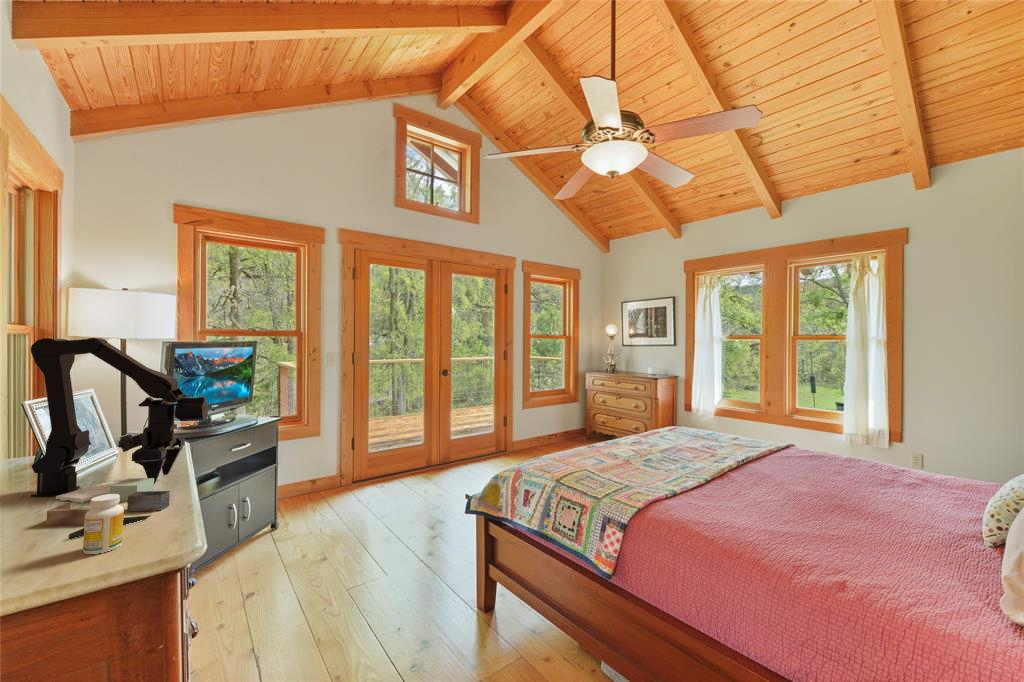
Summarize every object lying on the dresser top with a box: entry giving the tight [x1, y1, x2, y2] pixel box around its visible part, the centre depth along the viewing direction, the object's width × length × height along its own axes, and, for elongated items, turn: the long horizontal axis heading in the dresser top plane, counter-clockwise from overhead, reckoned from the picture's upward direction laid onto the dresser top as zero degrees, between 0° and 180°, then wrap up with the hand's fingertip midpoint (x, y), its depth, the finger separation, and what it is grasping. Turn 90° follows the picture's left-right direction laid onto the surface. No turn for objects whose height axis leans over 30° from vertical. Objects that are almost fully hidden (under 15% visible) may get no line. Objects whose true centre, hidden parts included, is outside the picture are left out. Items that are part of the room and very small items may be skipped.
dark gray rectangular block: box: [127, 490, 171, 512], centre depth 102 cm, size 7×3×4 cm, turn 98°
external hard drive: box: [55, 480, 120, 503], centre depth 112 cm, size 2×8×12 cm
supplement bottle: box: [82, 494, 125, 555], centre depth 82 cm, size 5×5×10 cm
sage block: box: [110, 477, 155, 502], centre depth 109 cm, size 6×6×4 cm
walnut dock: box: [46, 502, 92, 526], centre depth 94 cm, size 10×5×3 cm, turn 98°
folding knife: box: [68, 514, 152, 540], centre depth 90 cm, size 13×1×2 cm, turn 147°
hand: (159, 479), depth 119 cm, fingers open, 9 cm apart
